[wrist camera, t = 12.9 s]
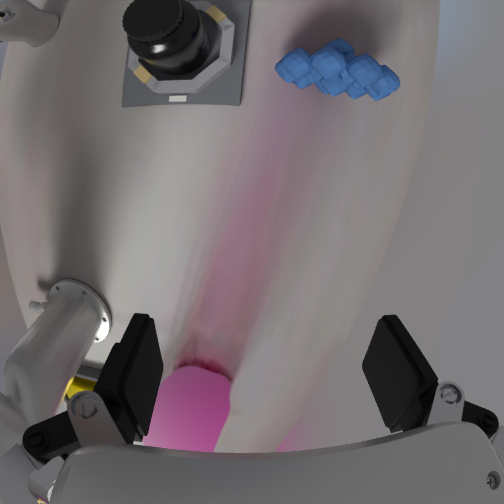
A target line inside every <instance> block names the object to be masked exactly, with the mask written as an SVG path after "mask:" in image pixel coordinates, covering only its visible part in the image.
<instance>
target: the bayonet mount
mask: <svg viewBox="0 0 504 504" xmlns="http://www.w3.org/2000/svg"><path fill="white" fill-rule="evenodd" d="M188 2H190V3H191V4H192V5H194V6H195V7H196V9H197V10H198V12H199V13H200V16H201V18H202V21H203V23H204V25H205V28H206V30H207V33H208V35H209V38H210V41H211V51H210V54H209V57H208V58H207V60H206V62H205V63H204V64H203V65H202V66H201V67H200V68H198V69H197V70H195V71H194V72H191V73H189V74H186V75H180V76H174V75H169V74H166V73H164V72H162V71H160V70H159V69H157V68H156V67H154V66H153V65H151V64H149V63H148V62H146V61H145V60H143V59H142V58H140V57H139V56H137V55H136V54H135V53H134V52H133V51H132V50H131V48H130V46H129V45H128V52H127V60H126V68H125V77H124V87H123V99H122V107H130V106H144V105H165V104H214V105H236V106H240V98H241V87H242V76H243V66H244V56H245V47H246V37H247V28H248V19H249V11H250V1H247V0H188Z"/></svg>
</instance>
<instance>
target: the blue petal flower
mask: <svg viewBox="0 0 504 504" xmlns="http://www.w3.org/2000/svg"><path fill="white" fill-rule="evenodd" d="M354 54H355V51H354V49H353V47H352V46H351V45H350V44H348V43H347V42H346V41H344V40H343V39H341V38H338V39H335V40H333V41H330V42H329V43H327V44H326V45H325V46H324V48H322V49H320V50H318V51H316V52H315V53H314V54H313V55H310V54H309V53H308V52H307V51H305V50H304V49H302V48H301V47H300V48H297V49H295V50H292V51H290V52H288V53H287V54H286V55H285V56H284V57H283V58H282V59H281V60H280V61H279V62H278V63H277V64H276V66H275V70H276V71H277V73H278V74H279V76H280V77H281V78H282V79H284V80H285V81H286V82H287V83H290V82H293V83H294V84H295V85H297V86H298V87H299V88H300V89H303V88H305V87H307V86H309V85H311V84H313V83H315V85H316V86H317V88H319V89H320V90H321V91H322V92H323V93H324V94H325V95H327V94H331V95H332V96H336V95H338V94H341V93H343V92H346V93H347V94H348V95H349V96H350V97H351V98H353V99H356V98H359V97H361V96H363V95H365V94H367V93H368V94H369V95H370V96H371V97H372V98H373V99H374V100H375V101H377V100H379V99H382V98H384V97H386V96H388V95H390V94H391V93H392V92H394V91H396V90H397V89H398V88H399V86H400V81H399V77H398V76H397V75H396V74H395V73H394V72H393V71H392V70H391V69H390V68H388V67H387V66H386V65H382V66H381V65H380V64H379V63H378V62H377V61H376V60H375V59H373V58H372V57H371V56H369V55H368V54H367V53H365V54H362V55H359V56H357V57H355V56H354Z"/></svg>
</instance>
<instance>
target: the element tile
mask: <svg viewBox="0 0 504 504" xmlns="http://www.w3.org/2000/svg"><path fill="white" fill-rule="evenodd" d="M95 384H96V381H92V380H88V379H85V378H81V377H77V376H75V377H74V379H73V381H72V383H71V385H70V387H69V389H68V391H67V395H68V397H69V399H70V398H71V397H72V396H73V395H74V394H75V393H77V392H79V391H84V390H89V391H93V389H94V387H95Z"/></svg>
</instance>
